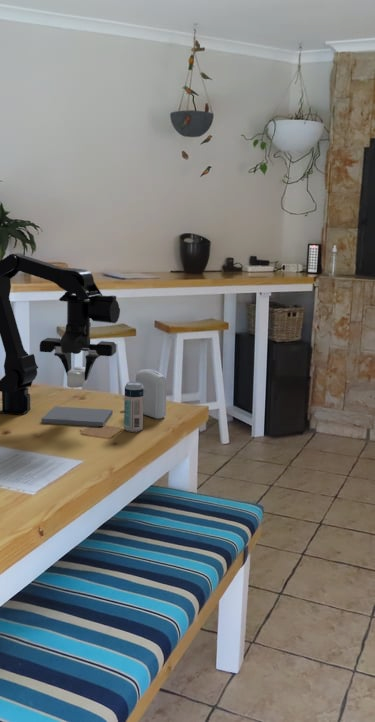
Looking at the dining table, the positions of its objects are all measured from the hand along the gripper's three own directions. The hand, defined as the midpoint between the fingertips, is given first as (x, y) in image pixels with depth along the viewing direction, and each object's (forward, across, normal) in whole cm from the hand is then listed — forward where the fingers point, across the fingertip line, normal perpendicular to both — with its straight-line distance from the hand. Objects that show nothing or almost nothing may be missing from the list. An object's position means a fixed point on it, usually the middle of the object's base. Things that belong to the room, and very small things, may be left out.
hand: (77, 379), depth 179 cm
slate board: (+11, 0, +2) cm, 11 cm away
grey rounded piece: (+1, 0, +1) cm, 2 cm away
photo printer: (+11, +18, +10) cm, 23 cm away
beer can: (+11, +16, -5) cm, 20 cm away
